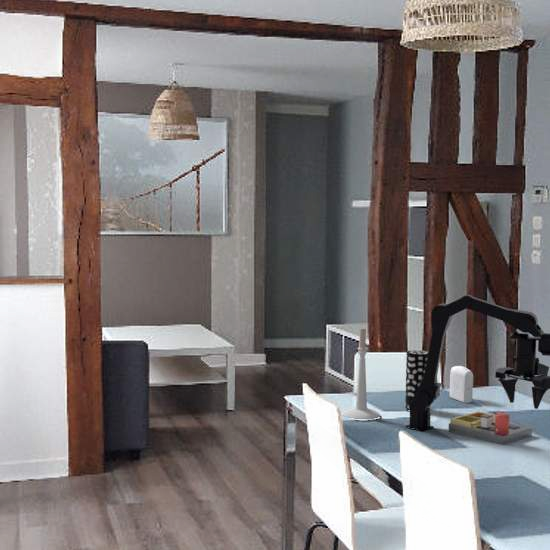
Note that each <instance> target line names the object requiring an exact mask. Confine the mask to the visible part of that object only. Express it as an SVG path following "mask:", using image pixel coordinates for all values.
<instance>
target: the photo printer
mask: <svg viewBox="0 0 550 550" xmlns="http://www.w3.org/2000/svg"><path fill="white" fill-rule="evenodd" d="M473 385H474V374H473V372H472V371H471V370H470V369H468V368H467V367H465V366H462V365H455V366H452V367H451V369H450V373H449V397H450V398H451V399H453V400H456V401H459V402H462V403H463V404H471V403H472V401H473V396H474V394H473V388H474V386H473ZM470 402H471V403H470Z"/></svg>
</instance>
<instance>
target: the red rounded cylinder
mask: <svg viewBox="0 0 550 550" xmlns="http://www.w3.org/2000/svg"><path fill="white" fill-rule="evenodd" d="M509 423H510V414H509V413H506V412H504V413H496V416H495V433H496V434H499V435H508V434H509Z"/></svg>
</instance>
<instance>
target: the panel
mask: <svg viewBox="0 0 550 550" xmlns="http://www.w3.org/2000/svg"><path fill="white" fill-rule="evenodd" d="M485 414H487V415H492V417H491V427H488V428H485V427H481V415H485ZM493 415H494V414H490V413H487V412H486V413H485V412H482V411H475V412H471V413H467V414H464V415H459V416H455V417H452V418H450V423H448V433H449V432H450V433H453V434H457V435H461V436H462V435H463V436H465V437H470V438H474V439H478V440H481V441H485V442H486V441H487V442H490V443H495V444H499V445H507V444H510V443H513V441H514V442H517V441H520V440H523V439H525V438H526V437H527V438H529V436H530V437H532V436H533V427H530V426H527V425H520V424H517V423H511V422H509V434H508V435H499V434H496V433H495V423H493Z"/></svg>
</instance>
